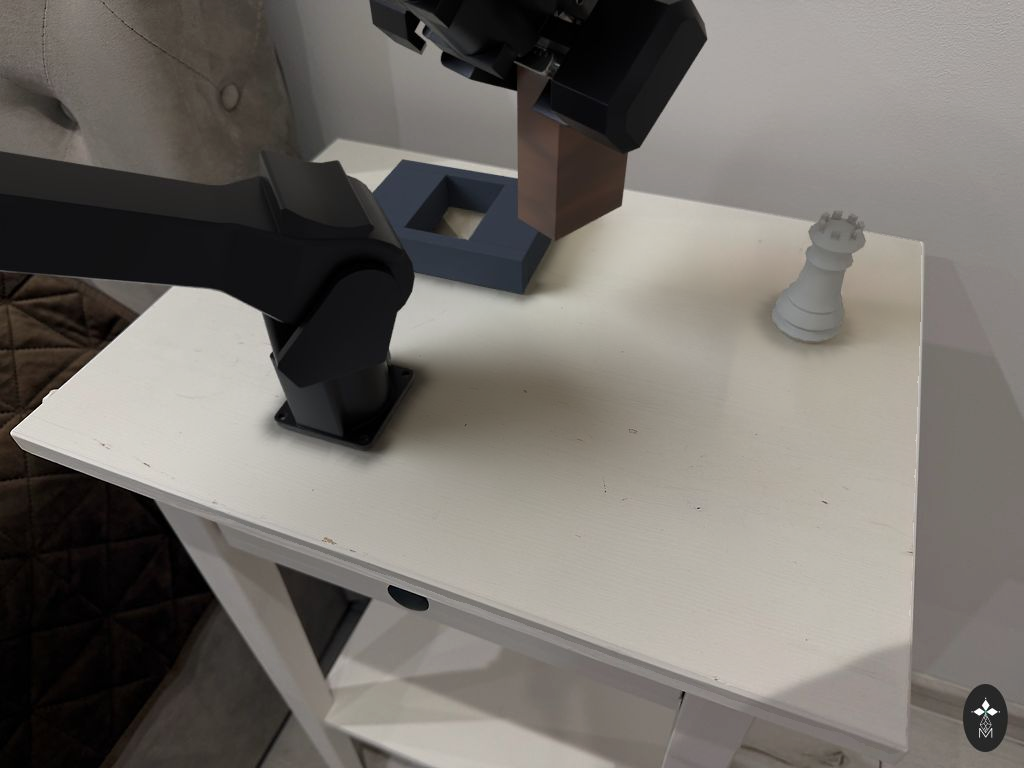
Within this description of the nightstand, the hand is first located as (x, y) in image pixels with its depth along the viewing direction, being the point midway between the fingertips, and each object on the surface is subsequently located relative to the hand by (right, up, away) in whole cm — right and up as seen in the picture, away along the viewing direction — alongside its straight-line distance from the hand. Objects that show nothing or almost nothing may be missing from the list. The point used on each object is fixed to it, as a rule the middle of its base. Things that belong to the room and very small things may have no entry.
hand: (592, 105), depth 40 cm
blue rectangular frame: (-9, -5, +14) cm, 17 cm away
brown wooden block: (-1, -5, +4) cm, 7 cm away
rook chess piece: (+15, -12, +6) cm, 20 cm away
